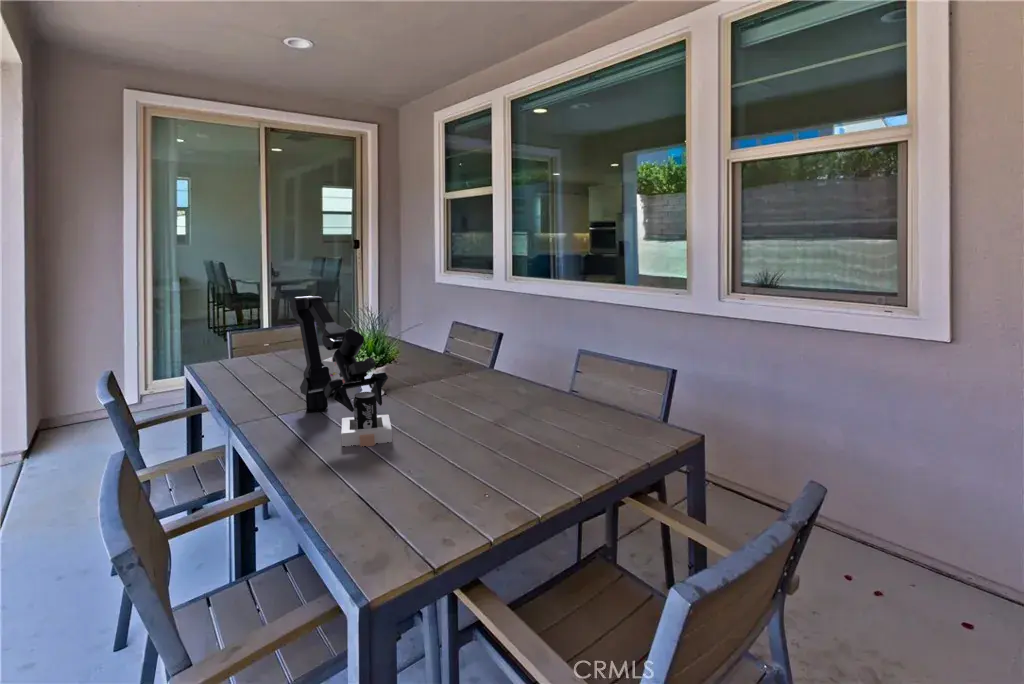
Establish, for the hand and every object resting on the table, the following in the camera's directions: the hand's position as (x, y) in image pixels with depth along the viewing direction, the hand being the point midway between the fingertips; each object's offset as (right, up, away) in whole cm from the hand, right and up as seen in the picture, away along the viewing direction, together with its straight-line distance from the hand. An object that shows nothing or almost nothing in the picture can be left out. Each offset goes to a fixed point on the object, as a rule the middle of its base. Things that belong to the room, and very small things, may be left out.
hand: (367, 408), depth 163 cm
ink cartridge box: (-28, +1, +55) cm, 62 cm away
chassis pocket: (-1, -9, +3) cm, 9 cm away
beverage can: (-1, -8, +2) cm, 8 cm away
